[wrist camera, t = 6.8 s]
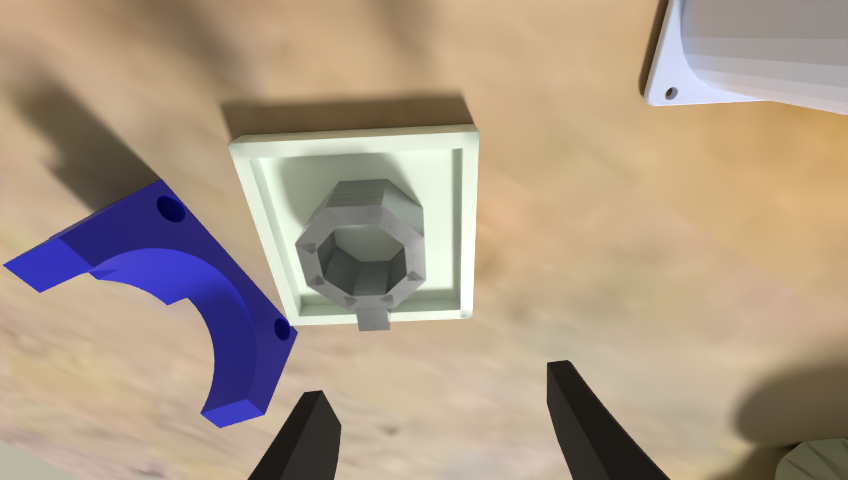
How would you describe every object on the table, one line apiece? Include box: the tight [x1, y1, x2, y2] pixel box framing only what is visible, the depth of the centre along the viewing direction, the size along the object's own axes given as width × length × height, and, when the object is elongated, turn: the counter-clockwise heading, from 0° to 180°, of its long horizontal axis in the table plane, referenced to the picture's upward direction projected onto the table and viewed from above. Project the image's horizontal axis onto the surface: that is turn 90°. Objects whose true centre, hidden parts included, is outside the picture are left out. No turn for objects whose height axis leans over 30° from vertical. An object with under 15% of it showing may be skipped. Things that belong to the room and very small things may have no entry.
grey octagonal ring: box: [295, 179, 426, 331], centre depth 18 cm, size 6×7×3 cm
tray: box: [228, 124, 479, 326], centre depth 18 cm, size 11×11×2 cm
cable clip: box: [3, 179, 298, 428], centre depth 18 cm, size 12×4×6 cm, turn 24°
